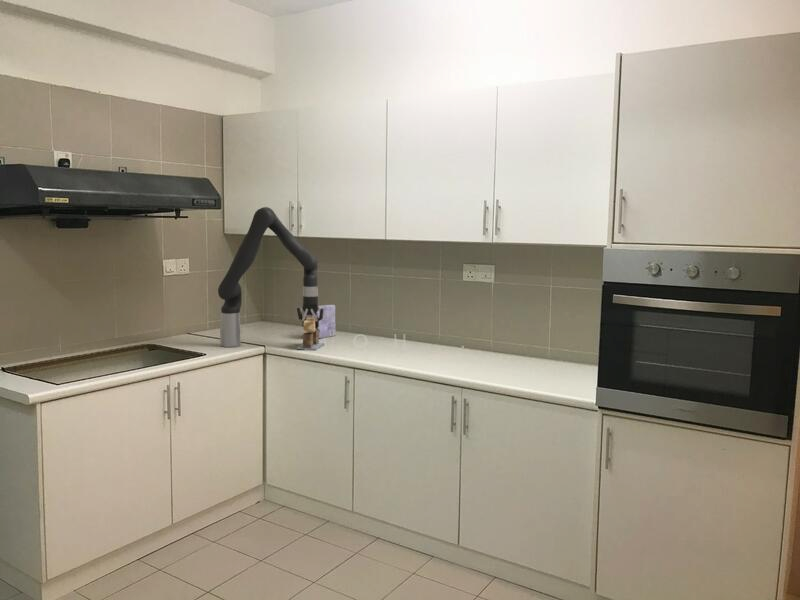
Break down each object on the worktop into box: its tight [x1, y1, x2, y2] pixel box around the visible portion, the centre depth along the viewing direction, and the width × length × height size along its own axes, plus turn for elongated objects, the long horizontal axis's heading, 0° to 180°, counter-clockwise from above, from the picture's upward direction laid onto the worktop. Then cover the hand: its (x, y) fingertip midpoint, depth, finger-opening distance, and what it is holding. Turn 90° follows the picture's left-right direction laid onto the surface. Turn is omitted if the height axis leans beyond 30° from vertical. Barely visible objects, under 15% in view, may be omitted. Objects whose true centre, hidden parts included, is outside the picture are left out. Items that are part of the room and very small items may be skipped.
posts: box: [302, 330, 320, 348], centre depth 329 cm, size 4×13×7 cm, turn 169°
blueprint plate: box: [296, 342, 326, 351], centre depth 329 cm, size 10×14×1 cm
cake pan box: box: [306, 304, 337, 339], centre depth 356 cm, size 19×5×18 cm, turn 141°
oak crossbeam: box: [303, 318, 316, 333], centre depth 327 cm, size 5×15×5 cm, turn 1°
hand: (310, 328), depth 328 cm, fingers closed on oak crossbeam, 5 cm apart
